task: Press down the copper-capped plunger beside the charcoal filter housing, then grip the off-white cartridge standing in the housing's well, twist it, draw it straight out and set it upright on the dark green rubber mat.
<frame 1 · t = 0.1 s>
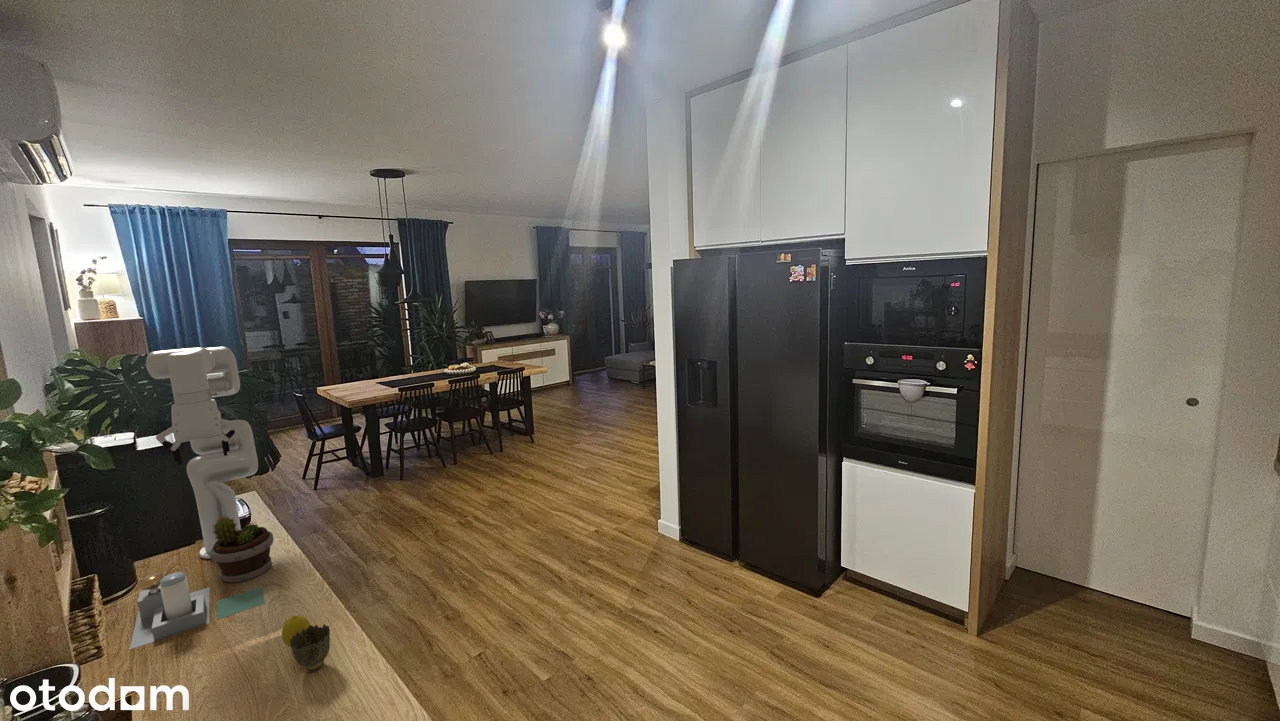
hand: (203, 458, 146), 37 cm above the kitchen counter, tool pointing down, fingers open, 9 cm apart
lemon: (299, 647, 125), on the kitchen counter
plunger: (153, 589, 138), point 7 cm above the kitchen counter, slide at 0.0 cm
cartridge: (181, 621, 134), point 1 cm above the kitchen counter, touching filter housing
mat: (241, 605, 141), on the kitchen counter
flowerpot: (247, 575, 156), on the kitchen counter
filter housing: (181, 625, 134), on the kitchen counter
spiky dark pot: (315, 668, 118), on the kitchen counter
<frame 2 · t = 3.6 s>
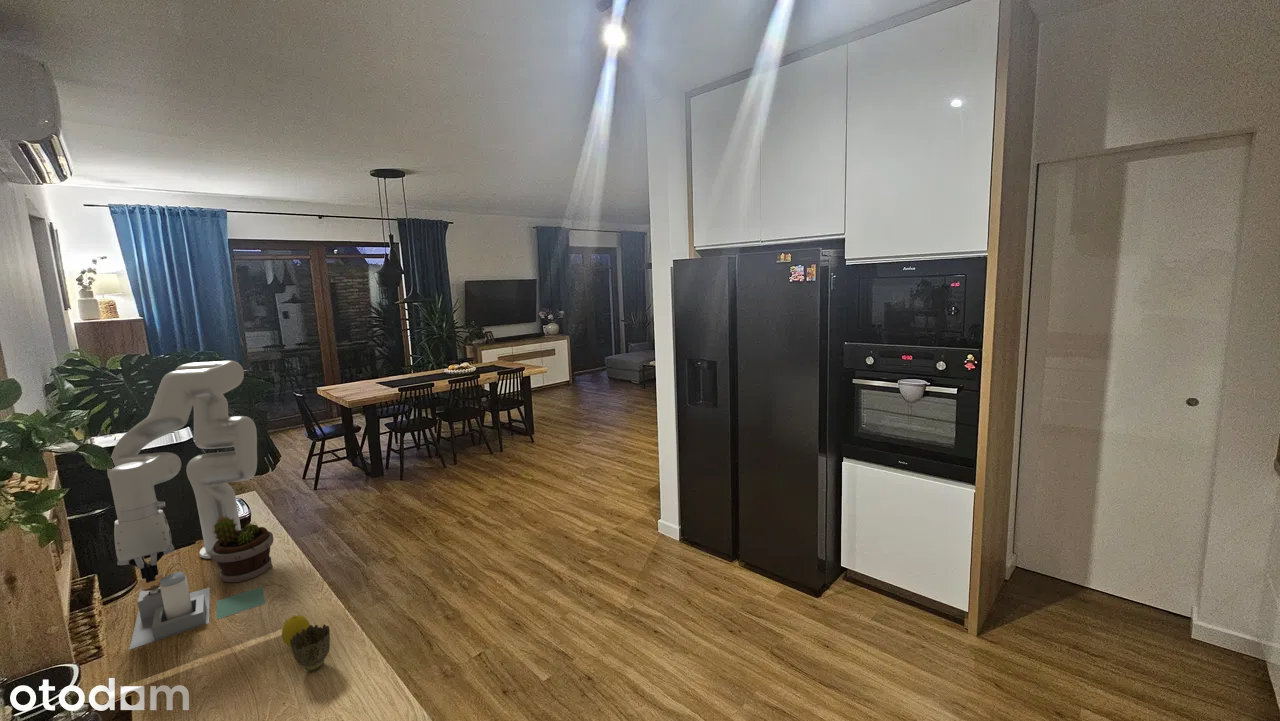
hand: (151, 579, 137), 10 cm above the kitchen counter, tool pointing down, fingers closed
plunger: (154, 590, 138), point 6 cm above the kitchen counter, slide at 0.3 cm, touching gripper
everything else where it was.
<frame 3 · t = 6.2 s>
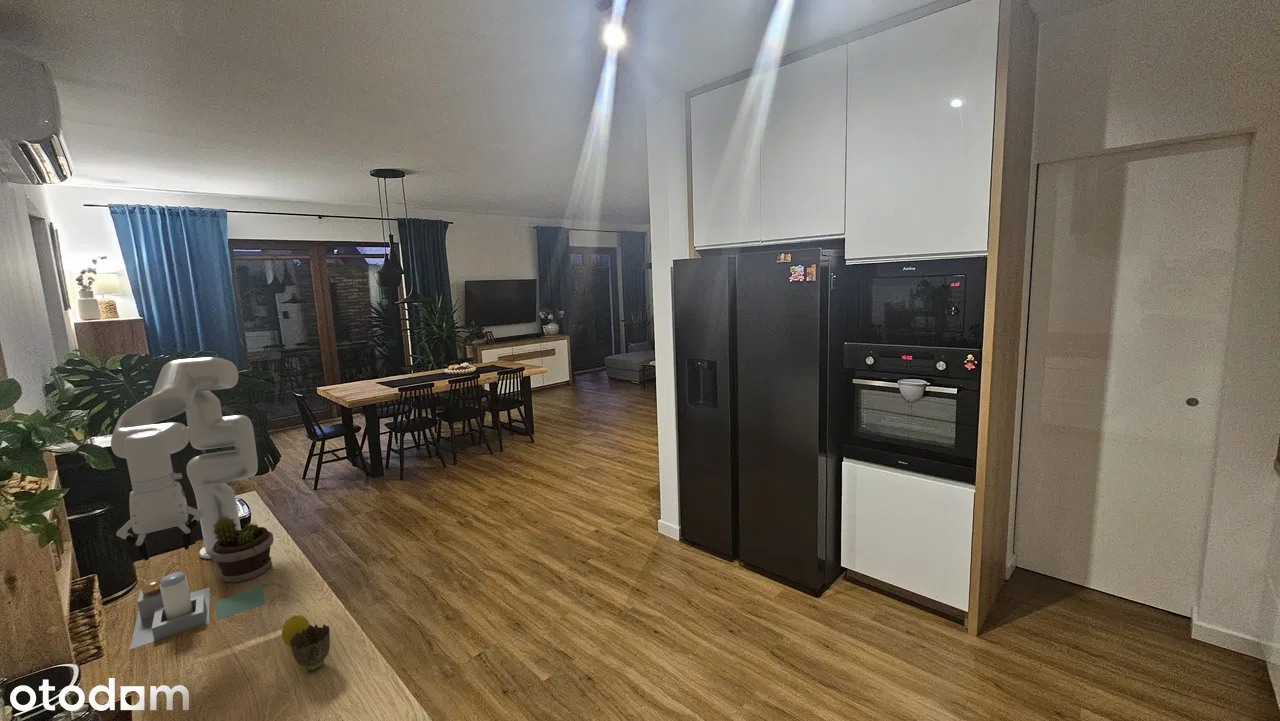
hand: (167, 552, 131), 20 cm above the kitchen counter, tool pointing down, fingers open, 6 cm apart
plunger: (155, 594, 138), point 5 cm above the kitchen counter, slide at 1.5 cm
everything else where it was.
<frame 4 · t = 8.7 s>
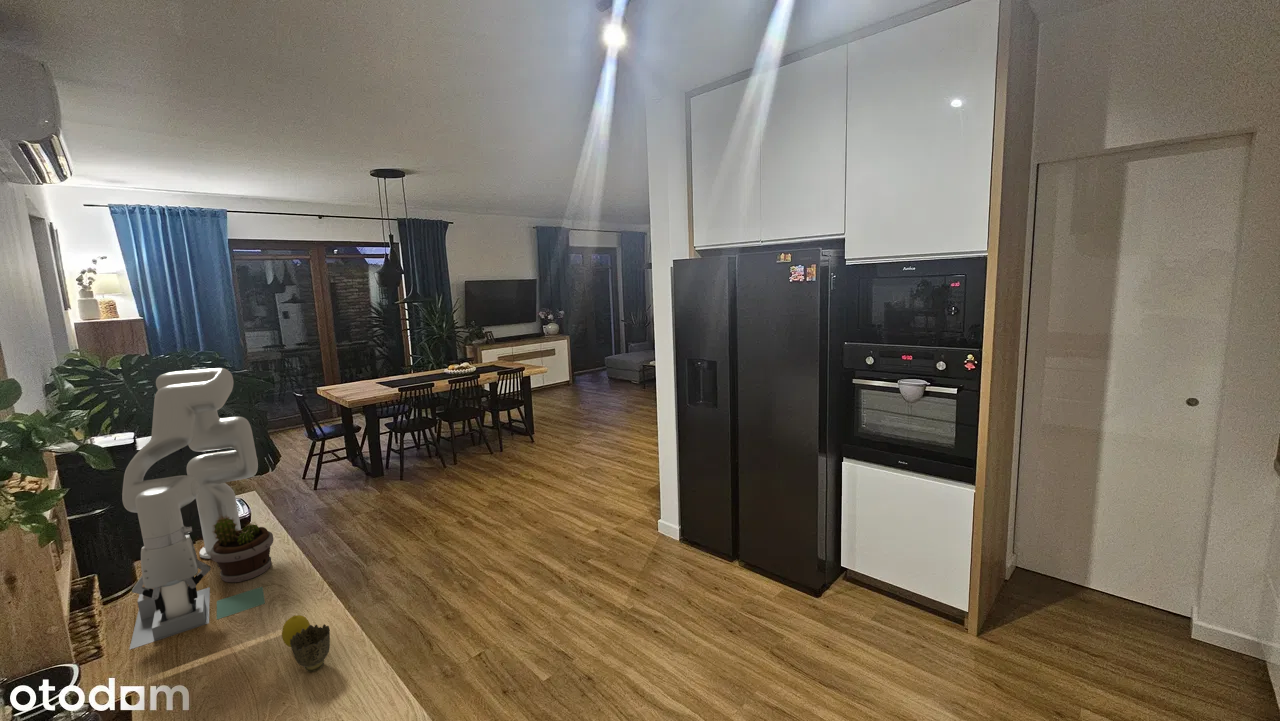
hand: (177, 605, 133), 5 cm above the kitchen counter, tool pointing down, fingers closed on cartridge, 5 cm apart
cartridge: (181, 621, 134), point 1 cm above the kitchen counter, touching filter housing, gripper
everything else where it was.
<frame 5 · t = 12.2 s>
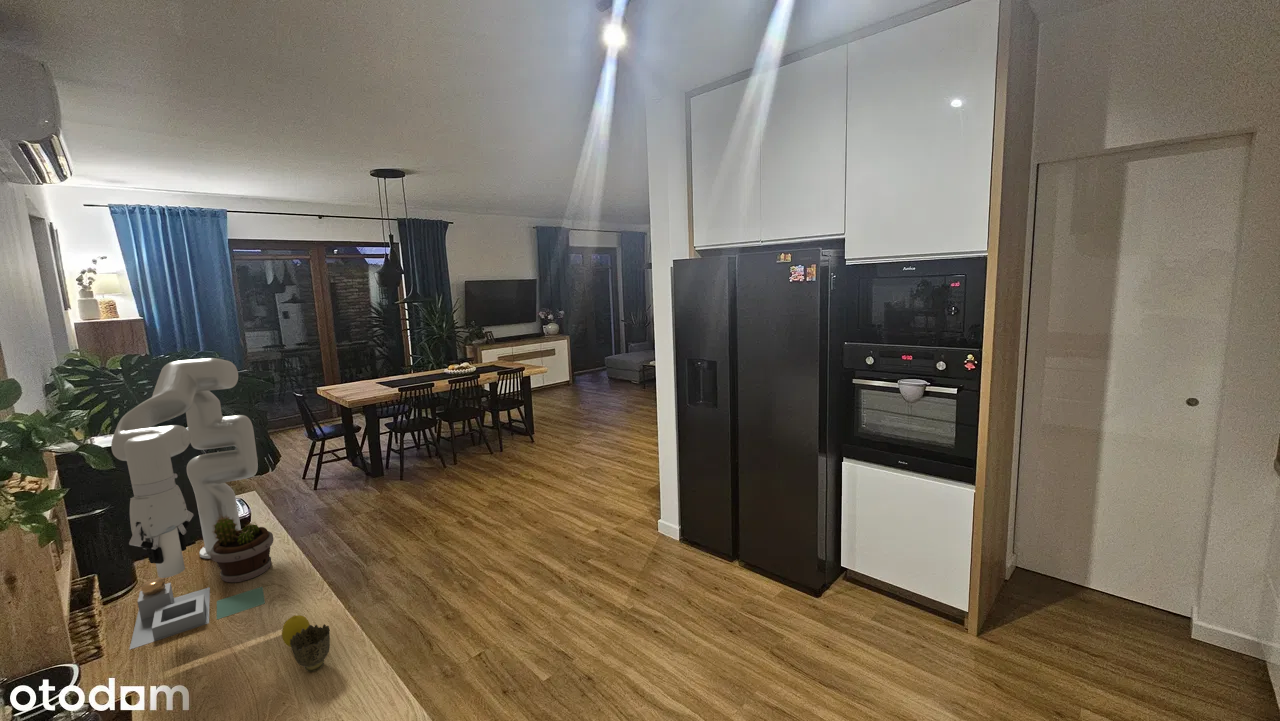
hand: (168, 555, 131), 19 cm above the kitchen counter, tool pointing down, fingers closed on cartridge, 5 cm apart
cartridge: (171, 572, 132), point 14 cm above the kitchen counter, touching gripper
everything else where it was.
when the fingers open (7 cm above the kitchen counter, at t = 16.1 s): cartridge drops 1 cm, resting on mat.
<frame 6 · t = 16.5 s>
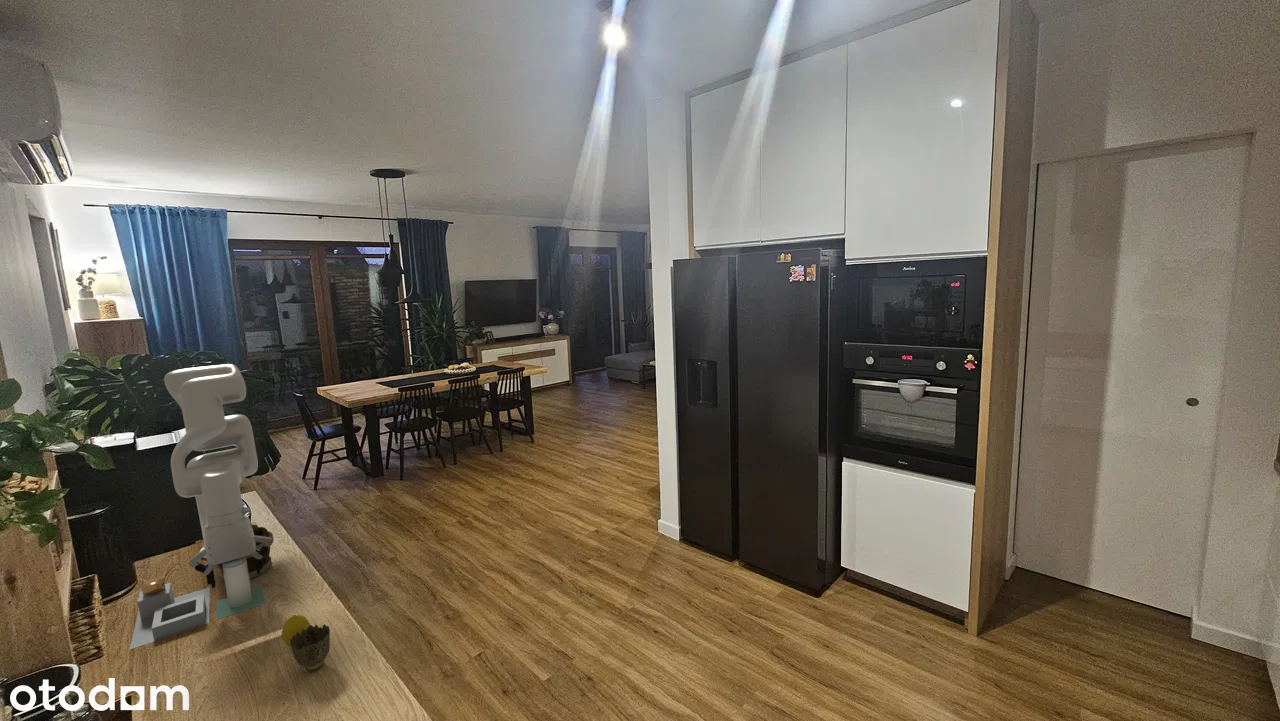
hand: (236, 578, 140), 8 cm above the kitchen counter, tool pointing down, fingers open, 9 cm apart
cartridge: (240, 601, 141), point 1 cm above the kitchen counter, touching mat
everything else where it was.
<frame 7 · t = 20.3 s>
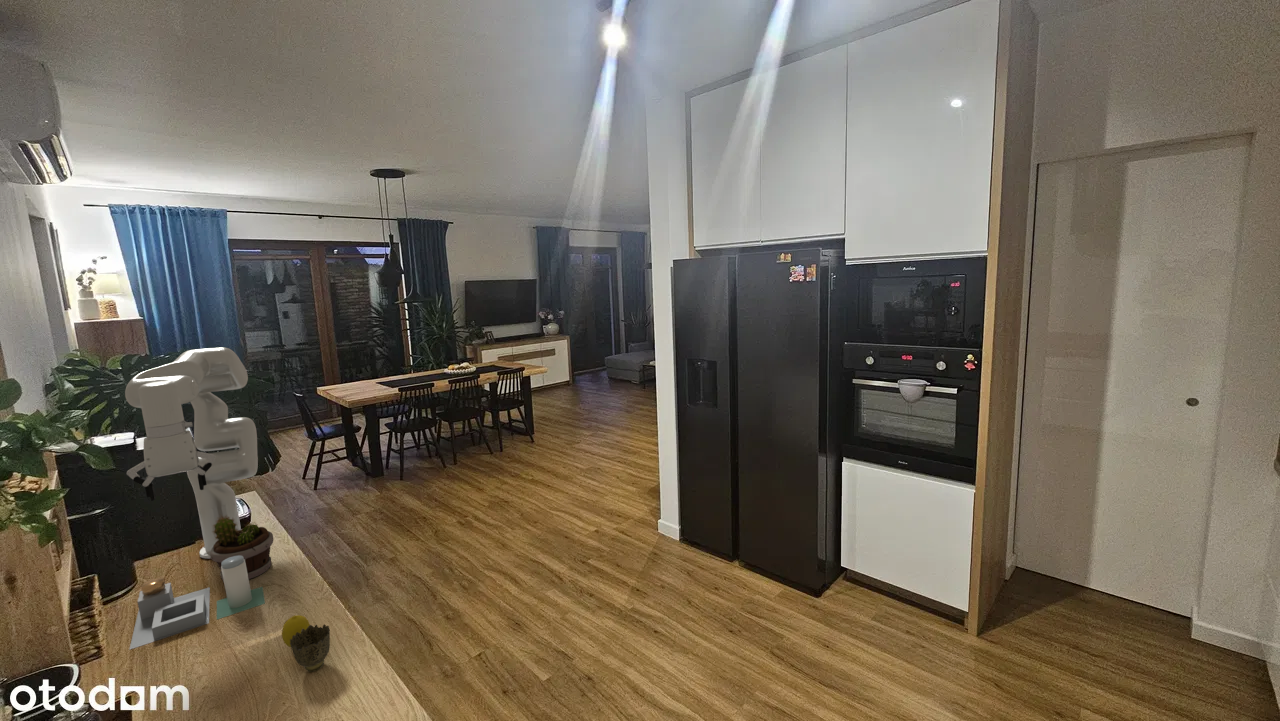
hand: (178, 493, 139), 30 cm above the kitchen counter, tool pointing down, fingers open, 9 cm apart
nothing on the kitchen counter moved.
at the end: plunger slide at 1.5 cm; cartridge 0.1 cm off-centre on the mat, point 1.0 cm above the mat's base; cartridge tilted 1° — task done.
